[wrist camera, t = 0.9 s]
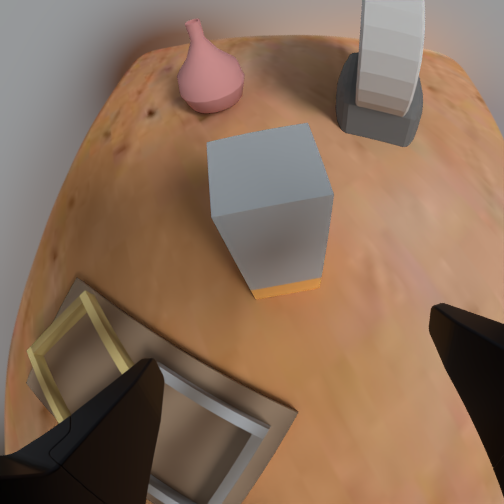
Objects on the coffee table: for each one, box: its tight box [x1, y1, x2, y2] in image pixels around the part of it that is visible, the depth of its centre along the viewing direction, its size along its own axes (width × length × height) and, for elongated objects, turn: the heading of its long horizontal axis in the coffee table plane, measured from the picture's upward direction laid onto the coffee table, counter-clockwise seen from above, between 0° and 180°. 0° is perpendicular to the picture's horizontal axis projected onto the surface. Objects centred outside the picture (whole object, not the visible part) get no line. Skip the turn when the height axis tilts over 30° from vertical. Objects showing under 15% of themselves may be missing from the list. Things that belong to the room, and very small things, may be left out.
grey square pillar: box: [207, 123, 334, 300], centre depth 19 cm, size 4×5×12 cm
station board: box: [26, 278, 298, 504], centre depth 20 cm, size 23×13×2 cm, turn 62°
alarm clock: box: [336, 0, 425, 147], centre depth 22 cm, size 16×10×18 cm, turn 161°
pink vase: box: [177, 19, 245, 113], centre depth 29 cm, size 8×8×12 cm
